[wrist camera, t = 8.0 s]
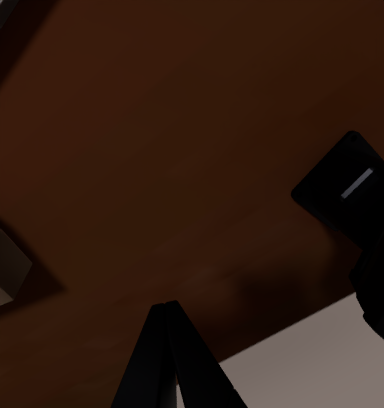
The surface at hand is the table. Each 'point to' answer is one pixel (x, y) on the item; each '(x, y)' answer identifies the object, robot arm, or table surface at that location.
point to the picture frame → (6, 10)
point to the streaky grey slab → (11, 268)
